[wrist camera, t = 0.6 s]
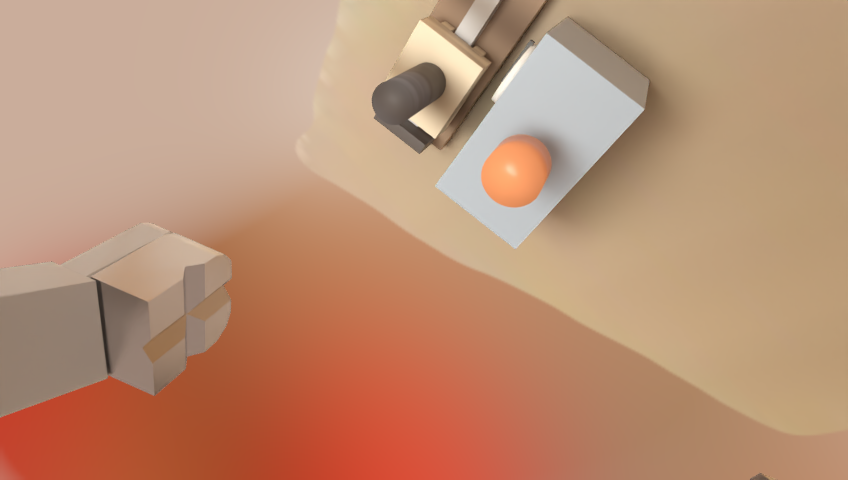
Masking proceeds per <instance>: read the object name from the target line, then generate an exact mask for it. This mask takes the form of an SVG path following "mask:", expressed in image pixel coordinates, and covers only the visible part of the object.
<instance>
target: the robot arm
mask: <svg viewBox="0 0 848 480" xmlns="http://www.w3.org/2000/svg"><path fill="white" fill-rule="evenodd" d="M231 277H232V276H231V260H230V259H229V258H228V257H227V256H226V255H224V254H222V253H220V252H218V251H215V250H213V249H211V248H209V247H206V246H204V245H202V244H199V243H197V242H195V241H193V240H190V239H188V238H185V237H183V236H181V235H179V234H176V233H172V232H171V231H168V230H166V229H164V228H161V227H159V226H157V225H154V224H152V223H140V224H138V225H136V226H134V227H132V228H130V229H128V230H126V231H124V232H122V233H120V234H118V235H116V236H115V237H113V238H111V239H109V240H107V241H105V242H103V243H101V244H99V245H97V246H95V247H93V248H91V249H89V250H88V251H86V252H84V253H82V254H80V255H78V256H76V257H74V258H72V259H70V260H68V261H67V262H64V263H62V264H61V265H59V264H57V263H55V262H52V261H51V262H44V263H37V264H29V265H22V266H15V267H8V268H0V417H2V416H5V415H8V414H11V413H13V412H16V411H19V410H22V409H24V408H27V407H30V406H33V405H36V404H38V403H41V402H44V401H47V400H49V399H52V398H54V397H57V396H60V395H63V394H66V393H69V392H71V391H74V390H76V389H79V388H82V387H85V386H88V385H91V384H93V383H96V382H99V381H102V380H104V379H107V378H108V375H109V376H111V377H113V378H116V379H118V380H120V381H123V382H125V383H127V384H129V385H131V386H134V387H136V388H138V389H141V390H142V391H145V392H147V393H149V394H151V395H154V396H155V395H156V394H157V393H158V392H160V391H161V390H162V389H163V388H164V387H165V386H166V385H168V384H169V383H170V382H171V381H172V380H173V379H174V378H176V377H177V376H178V375H179V374H180V373H181V372H182V371H184V370H185V368H186V361H187V356H191V355H195V354H198V353H202V352H205V351H206V350H207V349H208V348H209V347H210V346H212V345H213V344H214V343H215V342H216V341H217V340H218V338H219V337H220V335H221V333H222V332H223V330H224V328H225V327H226V325H227V322H228V319H229V315H230V310H231V299H230V297H229V295H228V293H227V291H226V290H225V288H224V286H223V285H224V284H225V283H226V282H227V281H229V280H230V279H231ZM750 480H776V479H774V478H772V477H769V476H767V475H764V474H762V473H760V474H758V475H756V476H754V477H752V478H751V479H750Z"/></svg>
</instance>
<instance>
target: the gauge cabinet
mask: <svg viewBox="0 0 848 480" xmlns="http://www.w3.org/2000/svg"><path fill="white" fill-rule="evenodd" d="M534 43H535V42H534V41H533V40H530V42H529V43H528V44H527V46H526V47H525V49H524V50H523V51H522V53H521V54H520V56H519V57H518V58H517V60H516V61H515V63H514V64H513V65H512V67H511V68H510V70H509V71H508V72H507V74H506V75H505V77H504V78H503V79H502V81H501V82H502V83H501V84H500V86H499V87H498V89H497V90H496V92H495V93H494V95H493V97H492V99H491V100H493V101H494V102H495V104H494V106H493V107H492V109H491V110H490V111H489V113H488V114H487V115H486V117H485V118H484V120H483V121H482V122H481V124H480V125H479V126H478V128H477V129H476V130H475V132H474V133H473V135H472V136H471V137H470V139H469V140H468V141H467V143H466V144H465V146H464V147H463V148H462V150H461V151H460V152H459V154H458V155H457V157H456V158H455V159H454V161H453V162H452V163H451V165H450V166H449V168H448V169H447V170H446V172H445V173H444V174H443V176H442V177H441V178H440V180H439V181H438V183H437V184H436V185H435V187H437V188H438V189H439V190H440V191H442V192H443V193H444V194H446V195H447V196H448V197H449V198H451V199H452V200H453V201H454V202H456V203H457V204H458V205H460V206H461V207H462V208H463V209H465V210H466V211H467V212H468V213H470V214H471V215H472V216H474V217H475V218H476V219H477V220H479V221H480V222H481V223H482V224H484V225H485V226H486V227H488V228H489V229H490V230H491V231H493V232H494V233H495V234H496V235H498V236H499V237H500V238H502V239H503V240H504V241H505V242H507V243H508V244H509V245H511V246H512V247H513V248H514V249H516V248H517V247H518V246H519V245H520V244H521V243H522V242H523V241H524V240H525V238H526V237H527V236H528V235H529V234H530V233H531V232H532V231H533V230H534V229H535V228H536V227H537V225H538V224H539V223H540V222H541V221H542V220H543V219H544V218H545V217H546V216H547V215H548V214H549V212H550V211H551V210H552V209H553V208H554V207H555V206H556V205H557V204H558V203H559V202H560V201H561V199H562V198H563V197H564V196H565V195H566V194H567V193H568V192H569V191H570V190H571V189H572V188H573V186H574V185H575V184H576V183H577V182H578V181H579V180H580V179H581V178H582V177H583V176H584V175H585V173H586V172H587V171H588V170H589V169H590V168H591V167H592V166H593V165H594V164H595V163H596V162H597V160H598V159H599V158H600V157H601V156H602V155H603V154H604V153H605V152H606V151H607V150H608V149H609V147H610V146H611V145H612V144H613V143H614V142H615V141H616V140H617V139H618V138H619V137H620V136H621V134H622V133H623V132H624V131H625V130H626V129H627V128H628V127H629V126H630V125H631V124H632V123H633V121H634V120H635V119H636V118H637V117H638V116H639V115H640V114H641V113H642V112H643V111H644V110H645V105H646V99H647V93H648V87H649V81H650V80H649V79H648V78H646V77H645V76H644V75H642V74H641V73H640V72H639V71H637V70H636V69H635V68H633V67H632V66H631V65H630V64H628V63H627V62H626V61H624V60H623V59H622V58H621V57H619V56H618V55H617V54H615V53H614V52H613V51H612V50H610V49H609V48H608V47H606V46H605V45H604V44H602V43H601V42H600V41H599V40H597V39H596V38H595V37H593V36H592V35H591V34H590V33H588V32H587V31H586V30H584V29H583V28H582V27H581V26H579V25H578V24H577V23H575V22H574V21H573V20H572V19H570V18H569V17H567V18H565V19H564V20H563V21H561V22H560V23H559V24H558V25H556V26H555V27H554V28H552V29H551V30H550V31H549V32H547V33H546V35H545V36H544V37H543V39H542V40H541V41H540V43H539V44H538V45H535V44H534ZM517 134H525V135H530V136H532V137H535V138H537V139H538V140H540V141H541V142H542V143H543V144H544V145H545V146H546V148H547V149H548V151H549V153H550V156H551V161H552V166H551V172H550V174H549V176H548V178H547V180H546V182H545V184H544V186H543V188H542V190H541V192H540V194H539V195H538V197H537V198H536V199H535V200H534V201H533V202H531V203H530V204H528V205H525V206H522V207H517V208H512V207H506V206H503V205H500V204H498V203H497V202H495V201H494V200H493V199H491V198H490V197H489V195H488V194H487V193H486V191H485V189H484V187H483V185H482V181H481V171H482V167H483V165H484V162H485V161H486V159H487V158H488V157H489V156H490V155H491V153H492V152H493V151H494V150H495V149H496V147H497V146H498V145H499V144H500V143H501V142H502V141H503V140H504V139H506V138H507V137H510V136H512V135H517Z"/></svg>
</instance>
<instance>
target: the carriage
mask: <svg viewBox="0 0 848 480" xmlns="http://www.w3.org/2000/svg"><path fill="white" fill-rule="evenodd" d="M454 30H455V28H454V27H453V26H452V25H450V24H449V23H448V22H446V21H444V22H442V23H440V22H439V21H438V20H436V19H435V18H434V17H433V16H430V17H427V18H424V19H421V20H420V21H419V23H418V24H417V26H416V28H415V30H414V31H413V33H412V35H411V37H410V38H409V40H408V42H407V43H406V45H405V47H404V49H403V50H402V52H401V54H400V56H399V57H398V59H397V61H396V63H395V64H394V66H393V68H392V70H391V71H390V73H389V75H388V77H387V78H386V80H385V82H383V83H381V84H380V85H378V86H377V87H376V89H375V90H374V92H373V96H372V106H373V109H374V111H375V113H376V115H377V116H378V117H379V119H381V120H382V121H383V122H385V123H387V124H390V125H399V124H402V123H404V122H405V121H406V120H408V119H410V120H411V121H413V122H414V123H415V124H417V125H418V126H419V127H420V128H422V129H423V130H424V131H425V132H427V133H428V134H429V135H431V136H432V137H433V138H434V139H436V138H437V137H438V136H439V135H440V134H441V133H443V132H444V131H445V130H446V128H447V127H448V125H449V124H450V122H451V121H452V120H453V118H454V117H455V115H456V114H457V112H458V111H459V109H460V108H461V106H462V105H463V104H464V102H465V101H466V99H467V98H468V96H469V95H470V93H471V92H472V91H473V89H474V88H475V86H476V85H477V83H478V82H479V80H480V79H481V77H482V76H483V75H484V73H485V72H486V70H487V69H488V67H489V66H490V64H491V63H492V62H490V61H489V60H488V59H486V58H485V57H484V56H485V55H486V52H485V51H484V50H482V49H481V48H480V47H478V46H475V47H473V48H472V47H471V46H470V45H468V44H467V43H466V42H465V41H463V40H462V39H461V38H459V37H458V36H457V35H456V34H454V33H453V32H454Z"/></svg>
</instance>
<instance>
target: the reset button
mask: <svg viewBox="0 0 848 480" xmlns="http://www.w3.org/2000/svg"><path fill="white" fill-rule="evenodd" d="M551 166H552V161H551V156H550V153H549V151H548V149H547V148H546V146H545V145H544V144H543V143H542V142H541V141H540V140H538V139H537V138H535V137H532V136H530V135H525V134H517V135H512V136H510V137H507V138H506V139H504V140H503V141H502V142H501V143H500V144H499V145H498V146H497V147H496V149H495V150H494V151H493V152H492V153H491V155H490V156H489V157H488V158H487V159H486V161H485V162H484V165H483V167H482V171H481V181H482V185H483V187H484V189H485V191H486V193H487V194H488V195H489V197H490V198H491V199H493V200H494V201H495V202H497V203H498V204H500V205H503V206H506V207H512V208H517V207H522V206H525V205H528V204H530V203H531V202H533V201H534V200H535V199H536V198H537V197H538V195H539V194H540V192H541V190H542V188H543V186H544V184H545V182H546V180H547V178H548V176H549V174H550V172H551Z"/></svg>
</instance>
